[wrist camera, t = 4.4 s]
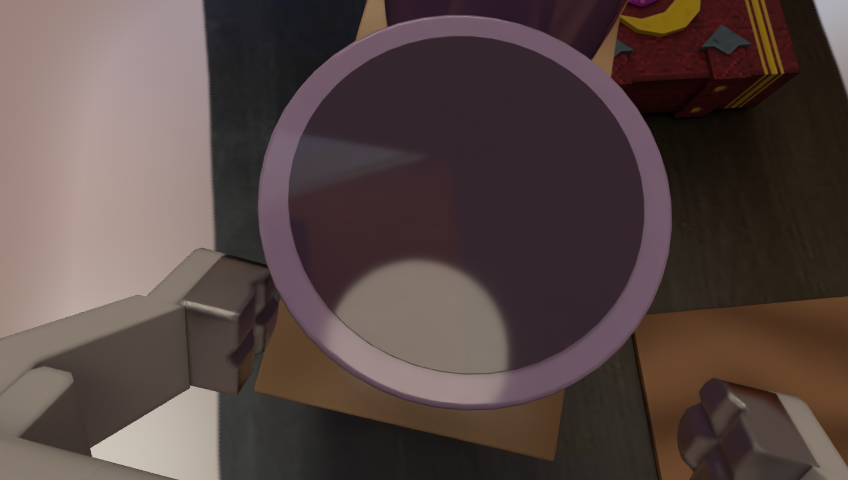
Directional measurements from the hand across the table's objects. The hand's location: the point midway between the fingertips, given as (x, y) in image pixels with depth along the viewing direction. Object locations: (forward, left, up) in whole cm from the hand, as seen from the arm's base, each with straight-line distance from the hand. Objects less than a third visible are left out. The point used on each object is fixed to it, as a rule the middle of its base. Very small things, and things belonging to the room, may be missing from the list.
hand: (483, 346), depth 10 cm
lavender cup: (+1, +2, -7) cm, 7 cm away
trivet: (+9, -16, -19) cm, 26 cm away
